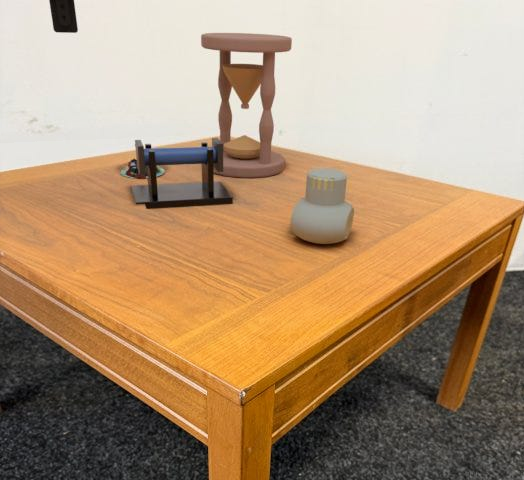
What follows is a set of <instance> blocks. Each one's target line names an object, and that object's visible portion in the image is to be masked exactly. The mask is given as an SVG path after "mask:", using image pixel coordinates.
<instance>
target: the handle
mask: <svg viewBox="0 0 524 480" xmlns="http://www.w3.org/2000/svg"><path fill="white" fill-rule="evenodd" d="M134 146H135V147H134V148H135V159H136V160H137V168H138V171H139V174H140V175H146V170H145V166H149V155H148V151H149V150H154V151H155V162H156V166H179V165H180V166H181V165H202V164H207V149H210V148H212V149H213V165H214V168H215V169H216V170H217V171H218V172H223V143H222V142H221V141H220V138H218V137H211V146H207V147H201V146H185V147H162V148H161V147H159V148H158V147H157V148H156V147H155V148H153V147H151V149H145V145H143V142H142V140H141V139H134Z"/></svg>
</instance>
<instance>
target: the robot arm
mask: <svg viewBox="0 0 524 480" xmlns="http://www.w3.org/2000/svg"><path fill="white" fill-rule="evenodd" d="M48 1H49V8H50V15H51V21H52V29H53V31H54V33H61V34H62V33H65V34H67V33H69V34H76V33H78V31H79V28H78V22H77V21H78V20H77V13H76V4H75V0H48Z"/></svg>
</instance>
